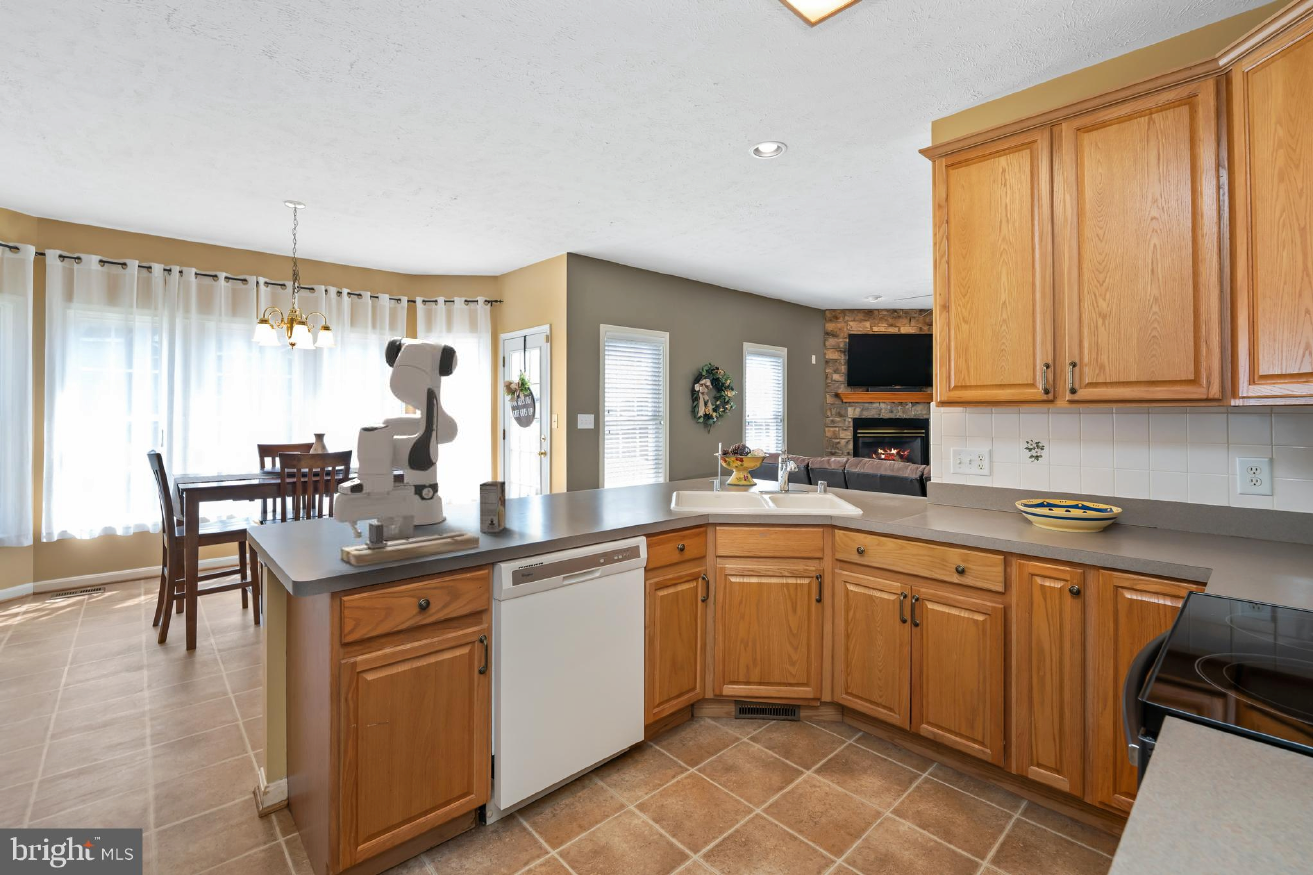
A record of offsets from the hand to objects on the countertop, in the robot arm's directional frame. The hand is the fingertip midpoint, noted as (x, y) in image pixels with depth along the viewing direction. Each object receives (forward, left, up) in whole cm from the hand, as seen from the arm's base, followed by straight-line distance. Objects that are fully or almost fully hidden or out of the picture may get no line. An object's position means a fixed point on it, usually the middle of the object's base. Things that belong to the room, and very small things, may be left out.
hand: (376, 535), depth 163 cm
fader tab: (0, 0, -3) cm, 3 cm away
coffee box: (-16, +44, -6) cm, 47 cm away
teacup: (-20, +13, -6) cm, 25 cm away
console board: (0, +10, -6) cm, 12 cm away
